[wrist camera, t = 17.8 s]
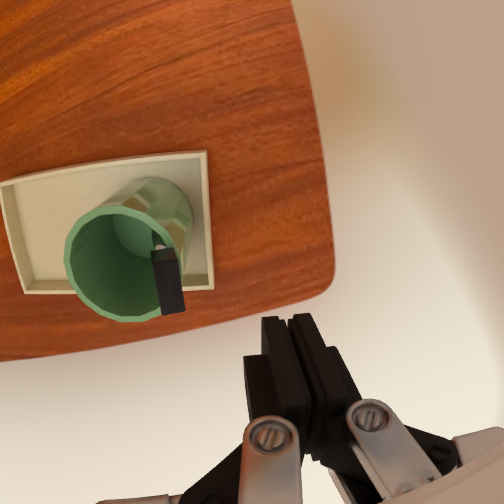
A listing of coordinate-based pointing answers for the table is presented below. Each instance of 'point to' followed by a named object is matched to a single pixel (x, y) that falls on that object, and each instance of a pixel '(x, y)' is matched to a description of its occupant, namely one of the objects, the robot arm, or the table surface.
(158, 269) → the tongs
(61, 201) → the tray
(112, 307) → the green cup
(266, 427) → the robot arm
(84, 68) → the table surface
